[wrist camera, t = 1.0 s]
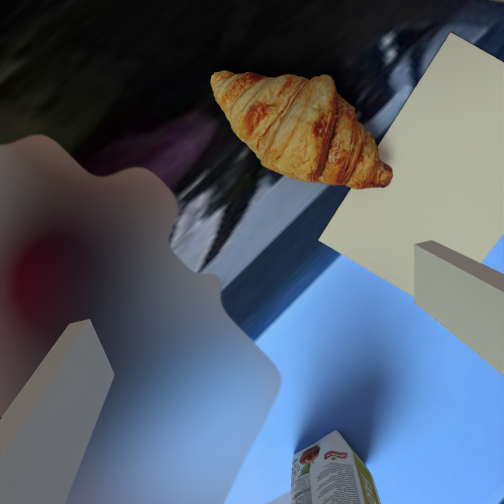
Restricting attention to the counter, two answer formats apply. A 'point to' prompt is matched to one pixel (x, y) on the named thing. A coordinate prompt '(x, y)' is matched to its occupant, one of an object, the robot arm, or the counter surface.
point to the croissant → (301, 128)
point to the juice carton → (331, 474)
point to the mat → (433, 171)
